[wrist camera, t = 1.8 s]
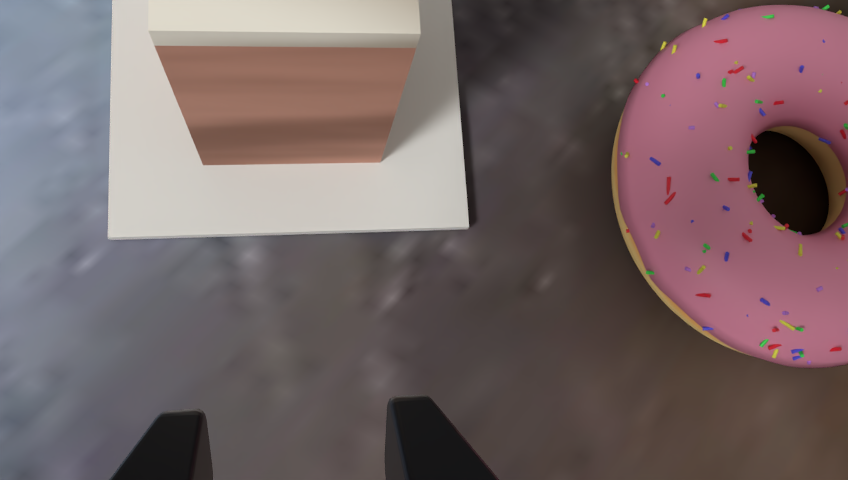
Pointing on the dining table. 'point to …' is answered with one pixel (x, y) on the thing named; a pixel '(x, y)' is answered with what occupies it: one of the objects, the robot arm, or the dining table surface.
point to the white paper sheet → (281, 183)
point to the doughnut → (740, 181)
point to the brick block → (286, 75)
